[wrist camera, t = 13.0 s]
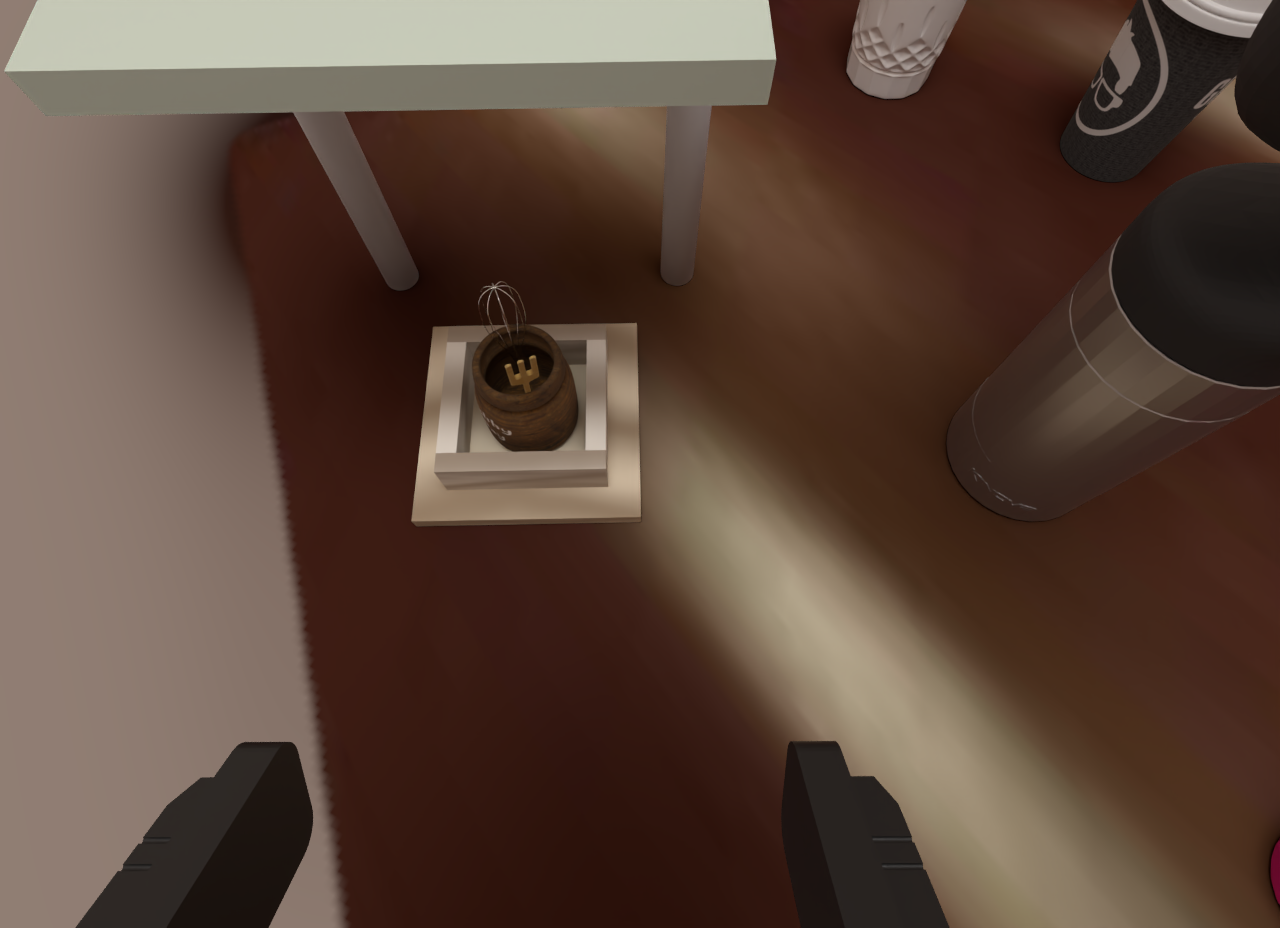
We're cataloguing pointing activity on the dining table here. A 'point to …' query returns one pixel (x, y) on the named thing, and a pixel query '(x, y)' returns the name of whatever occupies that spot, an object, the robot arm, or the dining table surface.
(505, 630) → the dining table surface
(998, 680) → the dining table surface
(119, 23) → the white bench
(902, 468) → the dining table surface
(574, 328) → the socket block
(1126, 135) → the coffee cup
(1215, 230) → the robot arm
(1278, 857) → the pepper mill
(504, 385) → the utensil holder
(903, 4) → the white cup
